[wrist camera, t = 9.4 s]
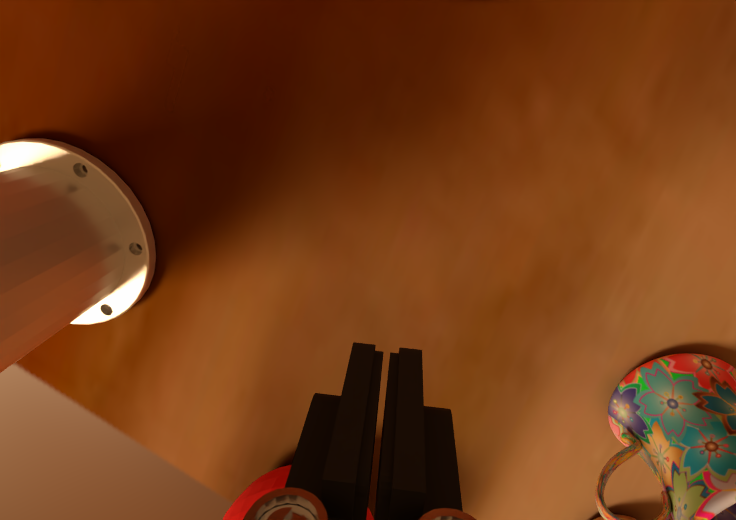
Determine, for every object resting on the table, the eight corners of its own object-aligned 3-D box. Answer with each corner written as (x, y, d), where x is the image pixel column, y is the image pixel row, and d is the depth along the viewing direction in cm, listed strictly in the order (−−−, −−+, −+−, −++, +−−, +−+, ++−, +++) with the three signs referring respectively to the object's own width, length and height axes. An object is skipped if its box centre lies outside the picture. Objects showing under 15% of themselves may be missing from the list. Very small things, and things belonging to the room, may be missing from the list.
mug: (754, 332, 28) (941, 473, 18) (737, 446, 31) (886, 616, 21) (553, 352, 29) (622, 490, 20) (557, 457, 33) (618, 619, 23)
